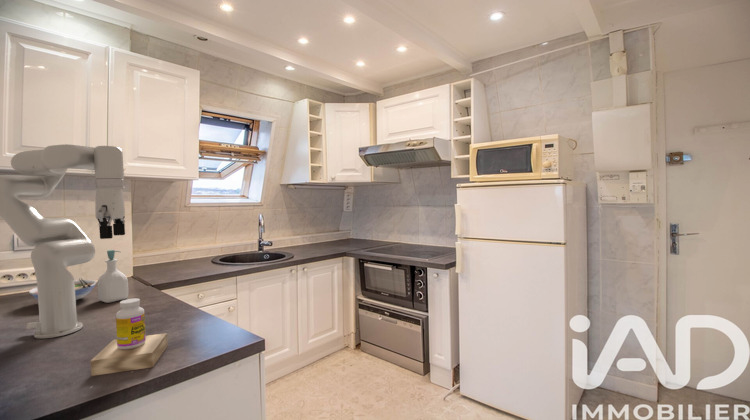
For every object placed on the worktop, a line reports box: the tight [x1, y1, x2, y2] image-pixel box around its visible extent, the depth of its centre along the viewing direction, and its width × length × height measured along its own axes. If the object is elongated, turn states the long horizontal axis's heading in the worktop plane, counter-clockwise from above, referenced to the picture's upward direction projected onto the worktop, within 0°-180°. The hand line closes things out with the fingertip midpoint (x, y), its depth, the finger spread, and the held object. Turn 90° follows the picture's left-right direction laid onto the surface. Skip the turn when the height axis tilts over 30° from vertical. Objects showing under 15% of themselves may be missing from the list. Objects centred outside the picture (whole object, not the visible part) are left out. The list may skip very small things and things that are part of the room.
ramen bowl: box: [28, 277, 98, 301], centre depth 156 cm, size 25×23×8 cm
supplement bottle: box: [115, 297, 146, 350], centre depth 99 cm, size 7×7×13 cm
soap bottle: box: [96, 249, 129, 304], centre depth 158 cm, size 10×10×23 cm
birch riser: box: [90, 332, 169, 377], centre depth 99 cm, size 14×14×4 cm
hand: (113, 236), depth 114 cm, fingers open, 9 cm apart
